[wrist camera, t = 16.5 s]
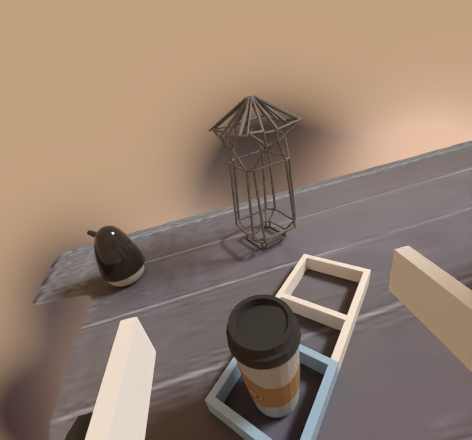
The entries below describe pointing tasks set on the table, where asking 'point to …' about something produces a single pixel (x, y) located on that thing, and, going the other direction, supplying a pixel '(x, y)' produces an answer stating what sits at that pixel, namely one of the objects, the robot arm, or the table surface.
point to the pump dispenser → (117, 256)
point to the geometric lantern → (246, 106)
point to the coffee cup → (267, 352)
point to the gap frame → (301, 347)
